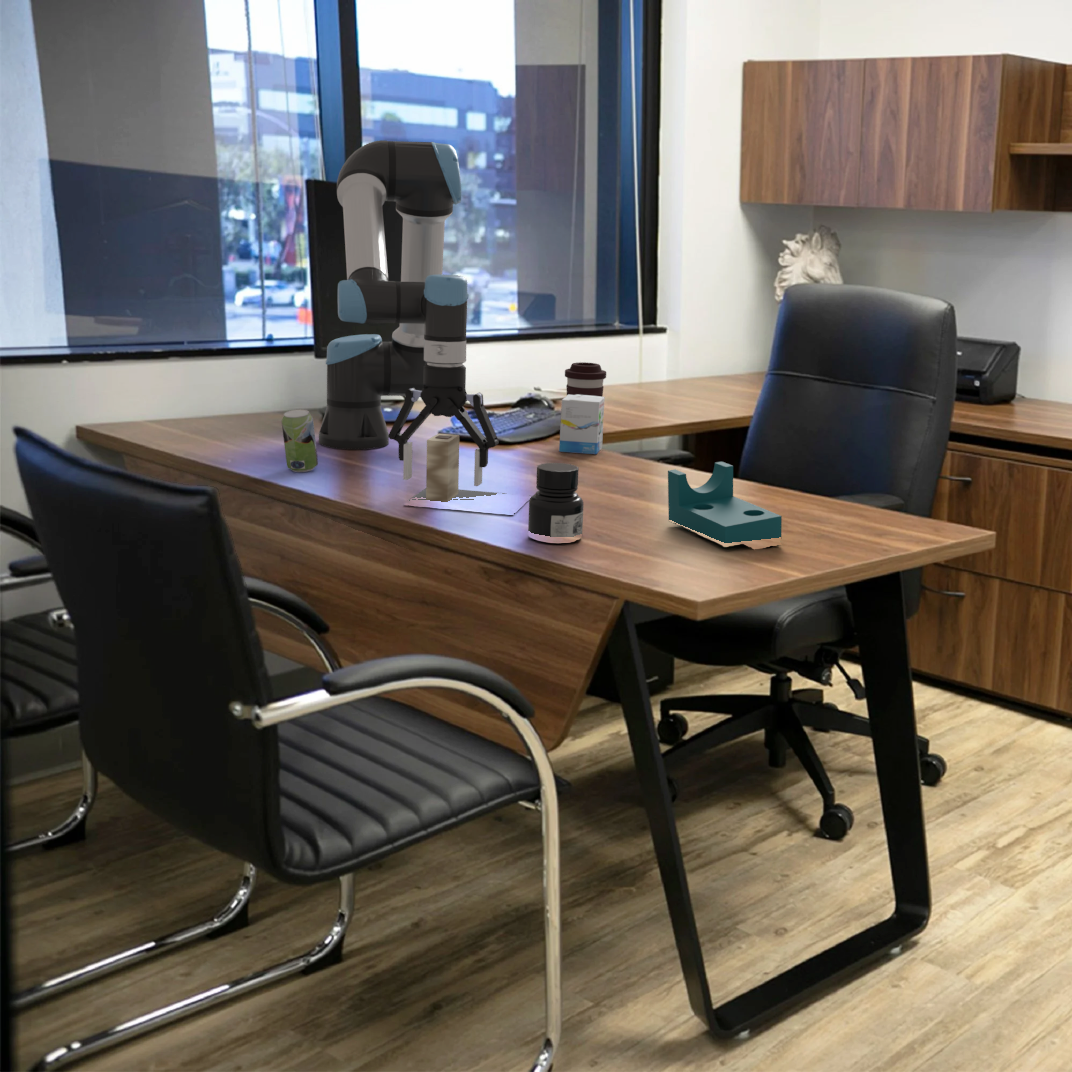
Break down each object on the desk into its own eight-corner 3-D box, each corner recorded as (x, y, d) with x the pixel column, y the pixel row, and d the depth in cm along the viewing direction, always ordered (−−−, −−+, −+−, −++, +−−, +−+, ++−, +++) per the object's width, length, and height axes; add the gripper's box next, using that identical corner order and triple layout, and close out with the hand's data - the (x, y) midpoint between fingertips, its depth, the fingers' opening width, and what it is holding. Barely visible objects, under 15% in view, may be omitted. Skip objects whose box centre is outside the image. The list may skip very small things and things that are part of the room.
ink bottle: (562, 549, 209) (565, 475, 206) (516, 539, 213) (518, 468, 210) (592, 537, 217) (596, 466, 214) (547, 528, 221) (550, 458, 218)
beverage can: (323, 469, 260) (323, 409, 257) (305, 476, 253) (304, 414, 250) (295, 465, 262) (294, 406, 258) (276, 472, 255) (275, 411, 252)
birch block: (426, 500, 235) (426, 439, 232) (437, 492, 242) (438, 432, 239) (447, 502, 234) (448, 441, 232) (458, 493, 241) (459, 434, 238)
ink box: (596, 455, 283) (599, 401, 280) (558, 452, 285) (560, 399, 282) (602, 447, 291) (605, 395, 288) (565, 444, 293) (567, 393, 290)
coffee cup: (556, 427, 314) (559, 364, 310) (571, 420, 323) (573, 360, 319) (595, 431, 310) (598, 368, 306) (609, 425, 319) (612, 363, 315)
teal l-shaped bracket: (668, 528, 227) (667, 470, 223) (722, 519, 231) (721, 461, 228) (725, 556, 211) (725, 494, 208) (781, 545, 215) (781, 484, 212)
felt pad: (404, 506, 233) (404, 503, 233) (427, 489, 246) (427, 486, 246) (513, 515, 229) (513, 513, 228) (531, 498, 242) (531, 495, 242)
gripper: (371, 361, 231) (370, 479, 236) (507, 371, 226) (503, 491, 231) (385, 356, 238) (384, 471, 243) (517, 365, 233) (513, 482, 238)
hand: (442, 481), depth 237 cm, fingers open, 13 cm apart
